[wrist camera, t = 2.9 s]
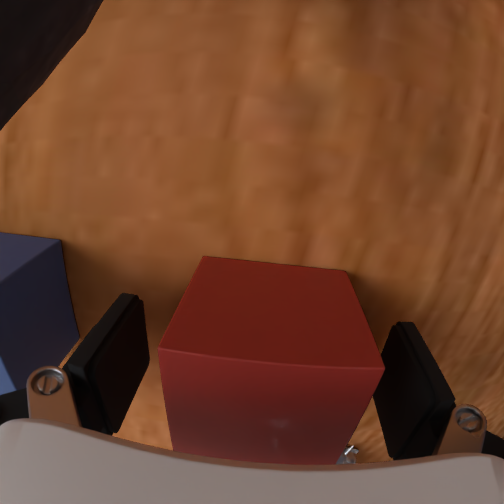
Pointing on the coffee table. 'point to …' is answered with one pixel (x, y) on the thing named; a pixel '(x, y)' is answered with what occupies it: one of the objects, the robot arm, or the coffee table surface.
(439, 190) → the coffee table surface
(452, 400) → the robot arm
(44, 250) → the blue block
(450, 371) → the coffee table surface
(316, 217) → the coffee table surface
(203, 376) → the red block
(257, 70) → the coffee table surface
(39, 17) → the teapot
